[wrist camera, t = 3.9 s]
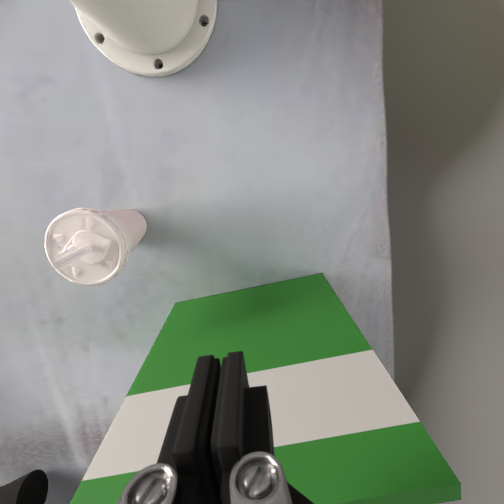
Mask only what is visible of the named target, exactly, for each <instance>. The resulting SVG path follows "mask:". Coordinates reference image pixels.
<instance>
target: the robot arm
mask: <svg viewBox="0 0 504 504" xmlns="http://www.w3.org/2000/svg"><path fill="white" fill-rule="evenodd" d="M69 1H70V2H71V3H72V4H73V5H74V6H75V9H76V12H77V15H78V18H79V21H80V23H81V25H82V27H83V28H84V30H85V32H86V34H87V36H88V37H89V38H90V40H91V41H92V42H93V44H94V45H95V46H96V48H97V49H98V50H99V51H100V52H101V53H102V54H103V55H104V56H106V57H107V58H108V59H109V60H110V61H112V62H113V63H114V64H116V65H117V66H119V67H121V68H123V69H125V70H126V71H128V72H131V73H134V74H137V75H140V76H148V77H159V76H167V75H170V74H173V73H176V72H178V71H180V70H182V69H183V68H185V67H187V66H188V65H190V64H191V63H192V62H193V61H194V60H195V59H196V58H197V57H198V56H199V55H200V53H201V52H202V51H203V49H204V48H205V46H206V45H207V43H208V40H209V38H210V36H211V34H212V31H213V27H214V24H215V20H216V13H217V0H69ZM204 22H207V23H208V25H207V26H205V27H204V26H202V24H203V23H204ZM103 39H105V41H104V43H102V40H103ZM160 64H163V67H162V69H159V65H160ZM117 504H314V503H313V502H311V501H310V500H309V499H308V498H306V497H305V496H304V495H303V494H301V493H300V492H299V491H298V490H297V489H295V488H294V487H293V486H292V485H290V484H289V483H288V482H287V481H286V477H285V473H284V470H283V467H282V465H281V463H280V461H279V460H278V459H277V458H276V457H275V454H274V442H273V430H272V420H271V411H270V404H269V398H268V391H267V386H266V385H264V386H256V387H249V383H248V377H247V372H246V366H245V360H244V355H243V351H237V352H229V353H228V355H227V357H223V359H222V365H221V364H220V359H219V358H214V355H206V356H199V357H198V359H197V362H196V366H195V369H194V373H193V377H192V381H191V384H190V388H189V392H188V395H185V396H179V397H178V398H177V400H176V403H175V406H174V409H173V412H172V415H171V419H170V422H169V425H168V428H167V431H166V435H165V438H164V441H163V444H162V447H161V451H160V454H159V457H158V460H157V463H156V464H152V465H150V466H147V467H145V468H143V469H142V470H141V471H139V472H138V473H136V474H135V475H134V476H133V478H132V479H131V480H130V481H129V482H128V484H127V485H126V487H125V489H124V490H123V492H122V494H121V496H120V498H119V500H118V502H117Z"/></svg>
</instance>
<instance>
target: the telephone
mask: <svg viewBox="0 0 504 504" xmlns="http://www.w3.org/2000/svg"><path fill="white" fill-rule="evenodd" d="M47 492H48V479H47V476H46V474H45V473H44V472H43V471H42V470H35V471H33V472H31V473H29V474H27V475H25V476H23V477H21V478H19V479H17V480H15V481H13V482H11V483H9V484H7V485H5V486H0V504H44V503H45V500H46V497H47Z"/></svg>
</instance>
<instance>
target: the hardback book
mask: <svg viewBox="0 0 504 504" xmlns="http://www.w3.org/2000/svg"><path fill="white" fill-rule="evenodd" d="M237 351H243V355H244V360H245V366H246V372H247V377H248V383H249V387H256V386H264V385H266V386H267V391H268V398H269V404H270V411H271V420H272V430H273V442H274V454H275V457H276V458H277V459H278V460H279V461H280V463H281V465H282V467H283V470H284V473H285V477H286V481H287V482H288V483H289V484H290V485H292V486H293V487H294V488H295V489H297V490H298V491H299V492H300V493H301V494H303V495H304V496H305V497H306V498H308V499H309V500H310V501H311V502H313V503H314V504H437V503H442V502H449V501H455V500H461V485H460V482H459V480H458V479H457V477H456V476H455V474H454V473H453V471H452V470H451V468H450V466H449V465H448V463H447V462H446V461H445V459H444V457H443V456H442V454H441V453H440V451H439V450H438V448H437V447H436V445H435V444H434V443H433V441H432V440H431V438H430V436H429V435H428V433H427V432H426V430H425V429H424V427H423V425H422V424H421V422H420V421H419V419H418V418H417V416H416V415H415V414H414V412H413V410H412V409H411V407H410V406H409V404H408V403H407V401H406V400H405V398H404V397H403V395H402V394H401V392H400V391H399V389H398V388H397V386H396V385H395V383H394V381H393V380H392V378H391V377H390V375H389V374H388V372H387V371H386V369H385V368H384V366H383V365H382V363H381V362H380V360H379V359H378V357H377V356H376V354H375V353H374V351H373V350H372V348H371V347H370V345H369V343H368V342H367V340H366V339H365V337H364V336H363V334H362V333H361V331H360V330H359V328H358V327H357V325H356V324H355V322H354V321H353V319H352V318H351V316H350V315H349V313H348V312H347V310H346V309H345V307H344V306H343V304H342V302H341V301H340V299H339V298H338V296H337V295H336V293H335V292H334V290H333V289H332V287H331V286H330V284H329V283H328V281H327V280H326V278H325V277H324V275H323V274H322V273H320V274H315V275H310V276H305V277H300V278H295V279H291V280H286V281H281V282H276V283H271V284H266V285H261V286H256V287H251V288H247V289H242V290H237V291H232V292H227V293H222V294H217V295H212V296H208V297H203V298H198V299H193V300H188V301H183V302H178V303H175V305H174V307H173V309H172V311H171V312H170V314H169V316H168V318H167V320H166V322H165V324H164V326H163V328H162V330H161V331H160V333H159V335H158V337H157V339H156V341H155V343H154V345H153V347H152V348H151V350H150V352H149V354H148V356H147V358H146V360H145V362H144V364H143V366H142V367H141V369H140V371H139V373H138V375H137V377H136V379H135V381H134V383H133V384H132V386H131V388H130V390H129V392H128V394H127V396H126V398H125V400H124V402H123V403H122V405H121V407H120V409H119V411H118V413H117V415H116V417H115V419H114V420H113V422H112V424H111V426H110V428H109V430H108V432H107V434H106V436H105V438H104V439H103V441H102V443H101V445H100V447H99V449H98V451H97V453H96V455H95V456H94V458H93V460H92V462H91V464H90V466H89V468H88V470H87V472H86V474H85V475H84V477H83V479H82V481H81V483H80V485H79V487H78V489H77V491H76V493H75V494H74V496H73V498H72V500H71V502H70V504H117V502H118V500H119V498H120V496H121V494H122V492H123V490H124V489H125V487H126V485H127V484H128V482H129V481H130V480H131V479H132V478H133V476H134V475H135V474H136V473H138V472H139V471H141V470H142V469H143V468H145V467H147V466H150V465H152V464H156V463H157V460H158V457H159V454H160V451H161V447H162V444H163V441H164V438H165V435H166V431H167V428H168V425H169V422H170V419H171V415H172V412H173V409H174V406H175V403H176V400H177V398H178V397H179V396H185V395H188V392H189V388H190V384H191V381H192V377H193V373H194V369H195V366H196V362H197V359H198V357H199V356H206V355H214V358H219V359H220V364H221V365H222V359H223V357H227V355H228V353H229V352H237Z"/></svg>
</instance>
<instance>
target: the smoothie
mask: <svg viewBox="0 0 504 504" xmlns="http://www.w3.org/2000/svg"><path fill="white" fill-rule="evenodd" d="M146 230H147V224H146V221H145V219H144V217H143V216H142V215H141V214H140V213H139V212H138V211H136V210H133V209H116V210H100V211H98V210H95V209H92V208H77V209H72V210H70V211H68V212H65V213H62V214H61V215H59V216H57V217H56V218H55V219H54V220H53V221H52V222H51V223H50V225H49V226H48V228H47V231H46V234H45V239H44V245H45V251H46V255H47V257H48V259H49V261H50V263H51V265H52V266H53V267H54V268H55V270H56V271H57V272H58V273H59V274H61V275H62V276H63V277H65V278H66V279H68V280H70V281H72V282H74V283H77V284H80V285H87V286H94V285H100V284H103V283H106V282H108V281H109V280H111V279H112V278H114V277H116V276H117V275H118V274H119V273H120V272H121V271H122V270H123V268H124V267H125V265H126V263H127V259H128V256H129V255H130V253H131V252H132V251H133V249H134V248H135V247H136V246H137V244H138V243H139V242H140V240H141V239H142V238H143V236H144V235H145V233H146Z"/></svg>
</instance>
